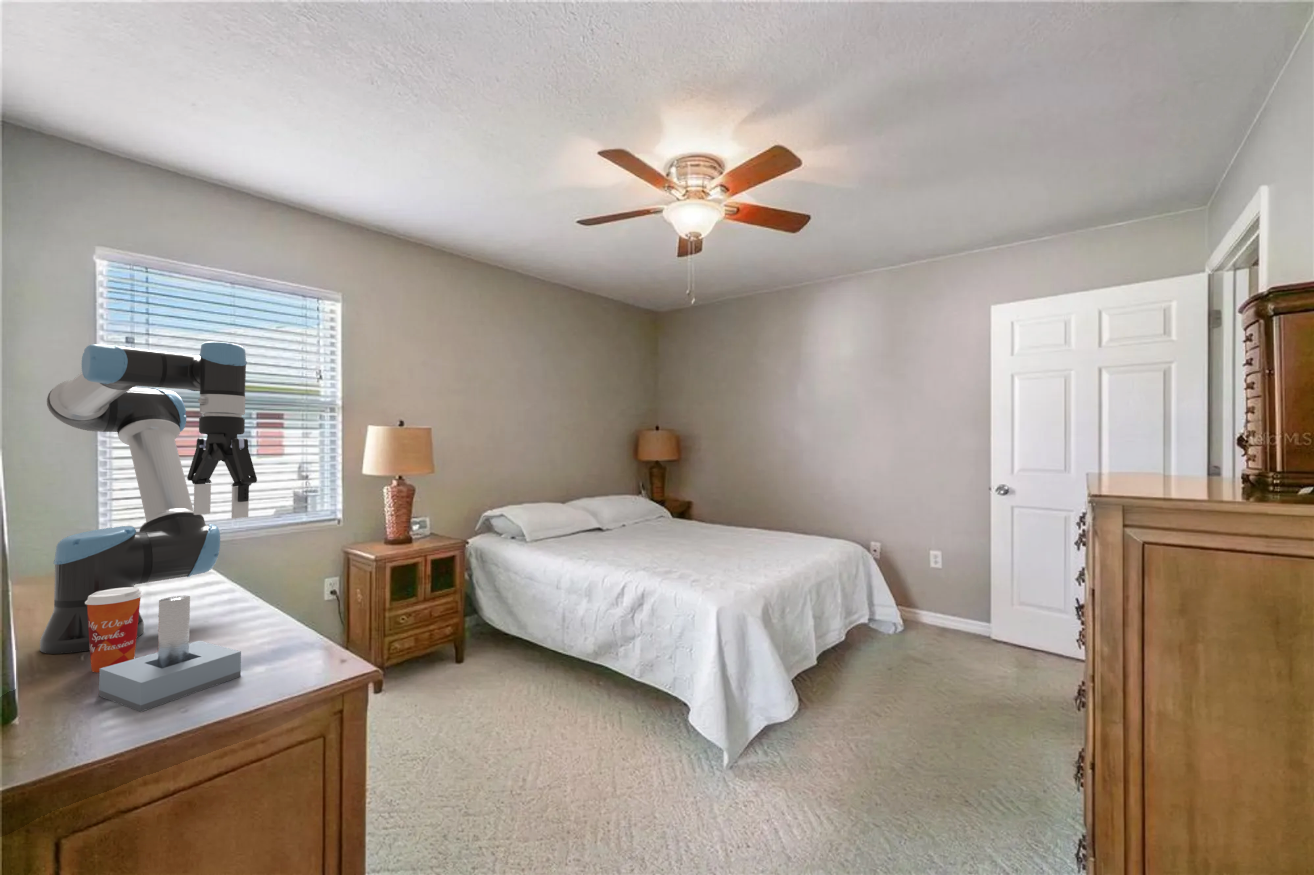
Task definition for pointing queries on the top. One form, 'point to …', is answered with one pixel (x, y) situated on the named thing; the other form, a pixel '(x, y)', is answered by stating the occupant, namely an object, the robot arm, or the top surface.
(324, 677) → the top surface
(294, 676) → the top surface
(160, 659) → the pin
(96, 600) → the paper cup
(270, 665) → the top surface
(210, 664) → the socket block
